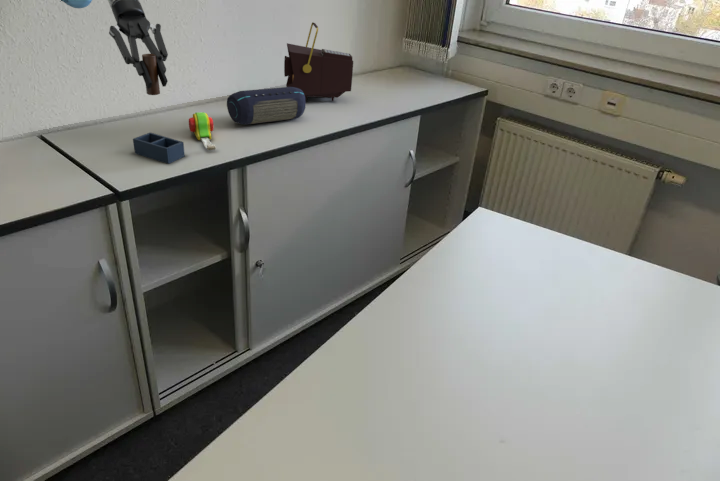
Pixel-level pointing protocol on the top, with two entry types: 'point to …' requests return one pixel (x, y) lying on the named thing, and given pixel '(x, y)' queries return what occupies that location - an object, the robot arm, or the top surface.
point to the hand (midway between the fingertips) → (157, 84)
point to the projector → (318, 70)
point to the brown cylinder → (152, 73)
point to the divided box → (159, 147)
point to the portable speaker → (266, 105)
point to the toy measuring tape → (202, 128)
